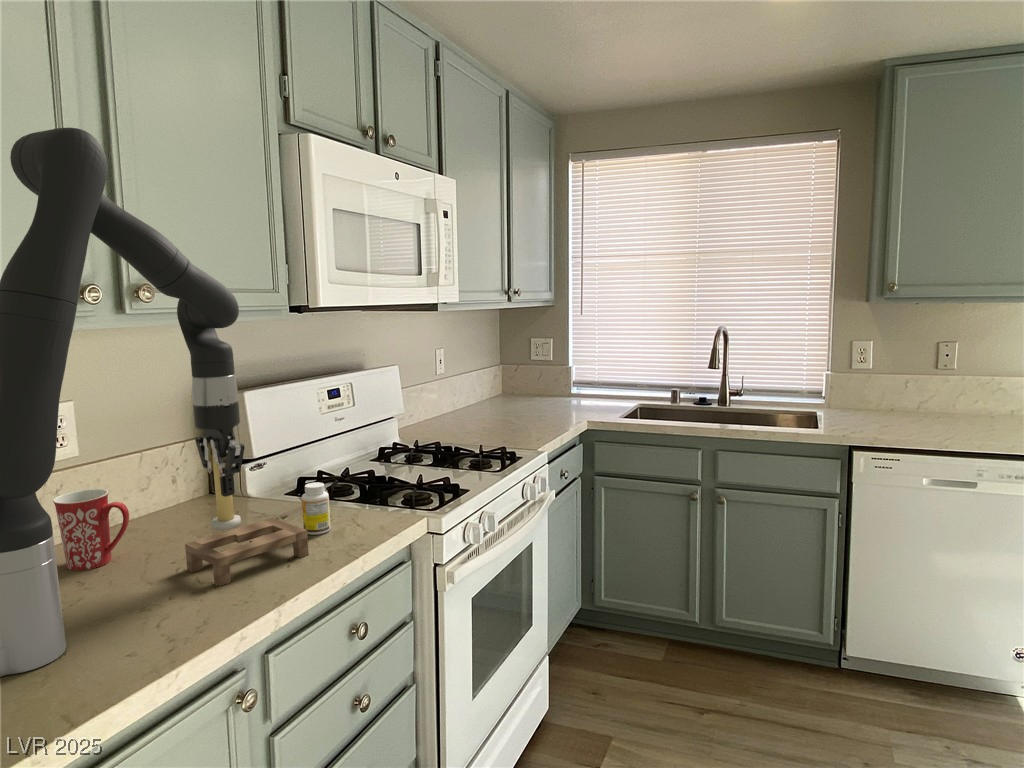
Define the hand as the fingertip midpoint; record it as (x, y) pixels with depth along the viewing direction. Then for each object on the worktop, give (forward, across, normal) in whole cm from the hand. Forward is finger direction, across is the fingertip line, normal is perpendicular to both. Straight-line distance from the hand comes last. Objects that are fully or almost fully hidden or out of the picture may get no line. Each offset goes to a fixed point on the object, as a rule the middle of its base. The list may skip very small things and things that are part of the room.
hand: (223, 493), depth 127 cm
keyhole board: (+15, 0, +4) cm, 15 cm away
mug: (+15, -23, -14) cm, 31 cm away
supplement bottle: (+15, -4, +22) cm, 27 cm away
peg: (+6, 0, 0) cm, 6 cm away
